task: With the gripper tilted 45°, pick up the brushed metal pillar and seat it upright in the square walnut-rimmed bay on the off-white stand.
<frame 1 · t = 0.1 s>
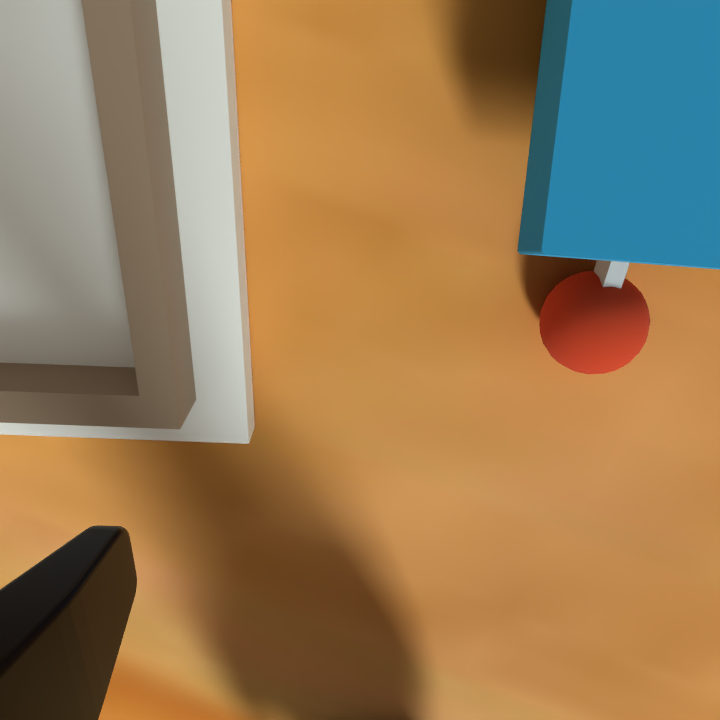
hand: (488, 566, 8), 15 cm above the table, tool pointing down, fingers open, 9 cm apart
lever: (633, 62, 19), on the table
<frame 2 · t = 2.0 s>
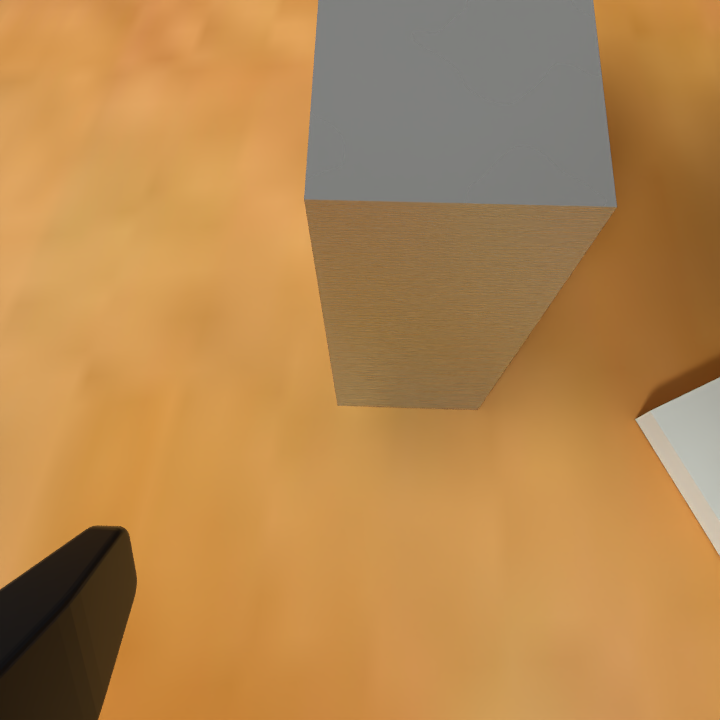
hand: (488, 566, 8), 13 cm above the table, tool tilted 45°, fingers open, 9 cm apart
brushed metal pillar: (407, 342, 23), on the table
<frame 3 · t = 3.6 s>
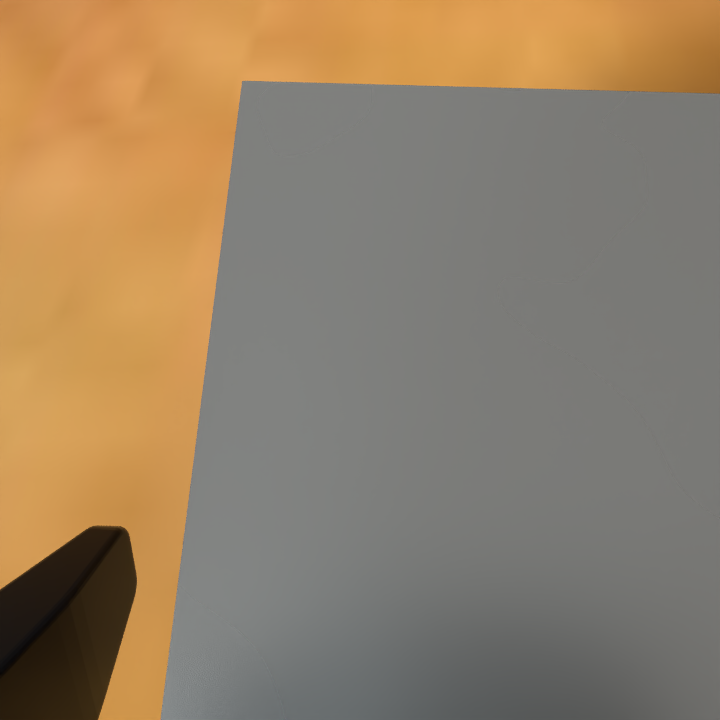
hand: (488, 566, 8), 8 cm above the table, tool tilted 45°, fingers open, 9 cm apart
brushed metal pillar: (425, 552, 16), on the table
when the fingers open (9 cm above the table, at t = 10.4 s): brushed metal pillar drops 1 cm, resting on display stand.
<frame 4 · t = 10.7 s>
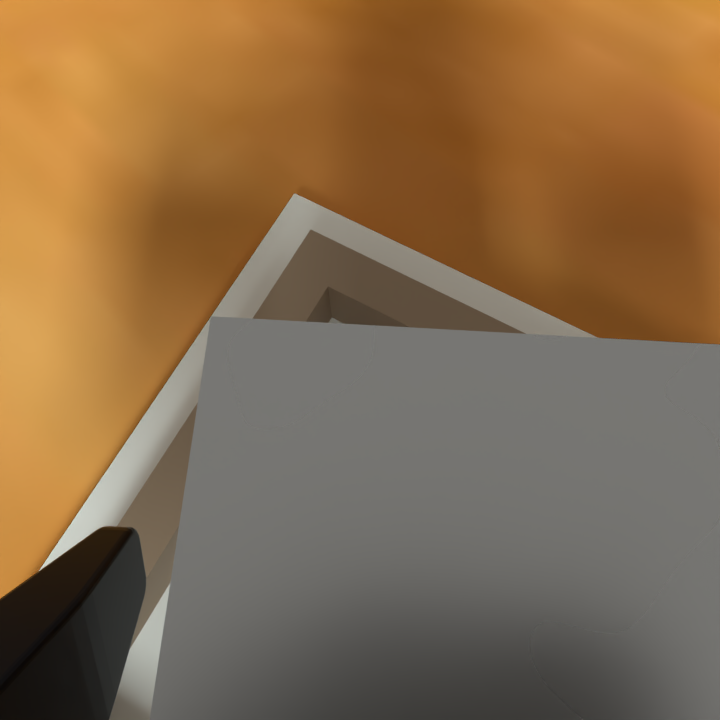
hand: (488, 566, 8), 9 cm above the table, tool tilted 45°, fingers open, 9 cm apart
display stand: (422, 628, 16), on the table
brushed metal pillar: (426, 632, 15), point 1 cm above the table, touching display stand
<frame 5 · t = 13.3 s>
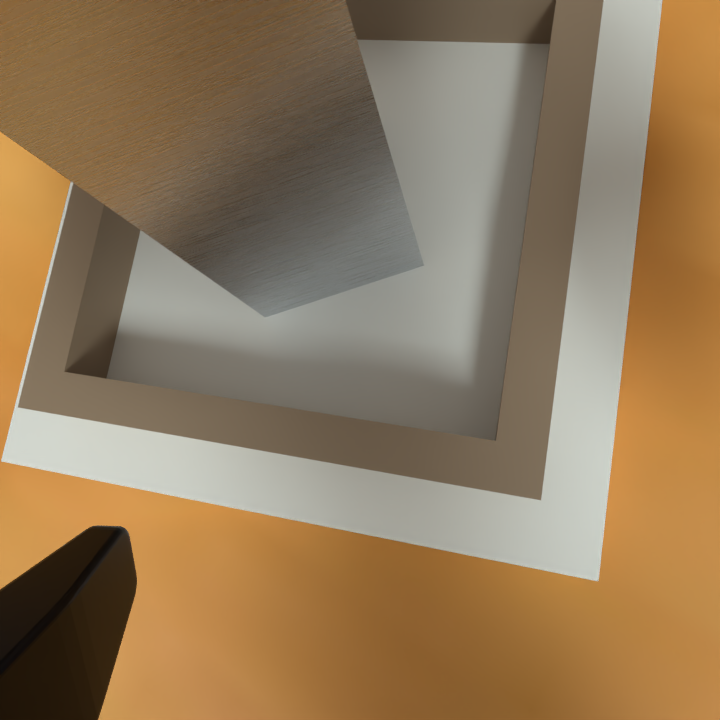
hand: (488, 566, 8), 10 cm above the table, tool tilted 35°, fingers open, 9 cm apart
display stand: (331, 231, 20), on the table
brushed metal pillar: (322, 217, 19), point 1 cm above the table, touching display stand
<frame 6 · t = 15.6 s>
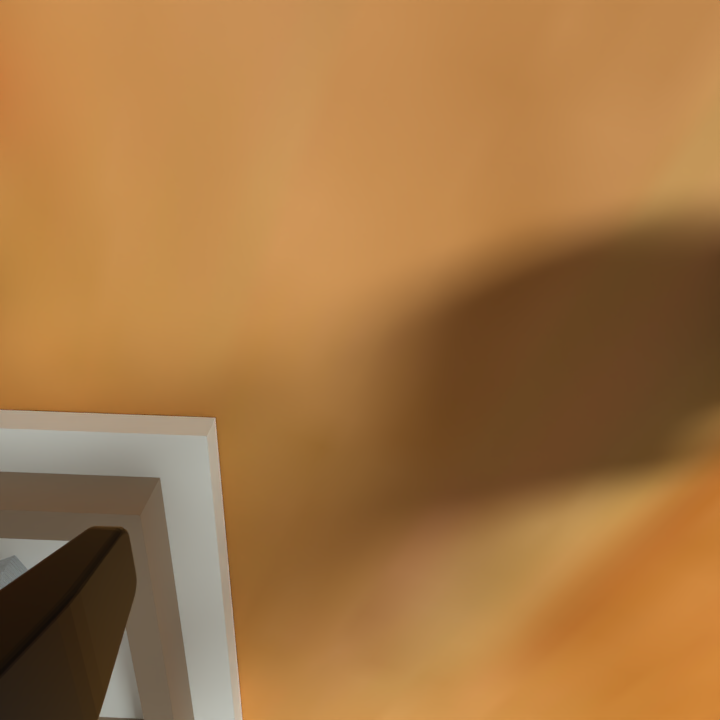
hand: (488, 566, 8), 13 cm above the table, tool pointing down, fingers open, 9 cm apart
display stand: (18, 593, 26), on the table
brushed metal pillar: (3, 616, 25), point 1 cm above the table, touching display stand
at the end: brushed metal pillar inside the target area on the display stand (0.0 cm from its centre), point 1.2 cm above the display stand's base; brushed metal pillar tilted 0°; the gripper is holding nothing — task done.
